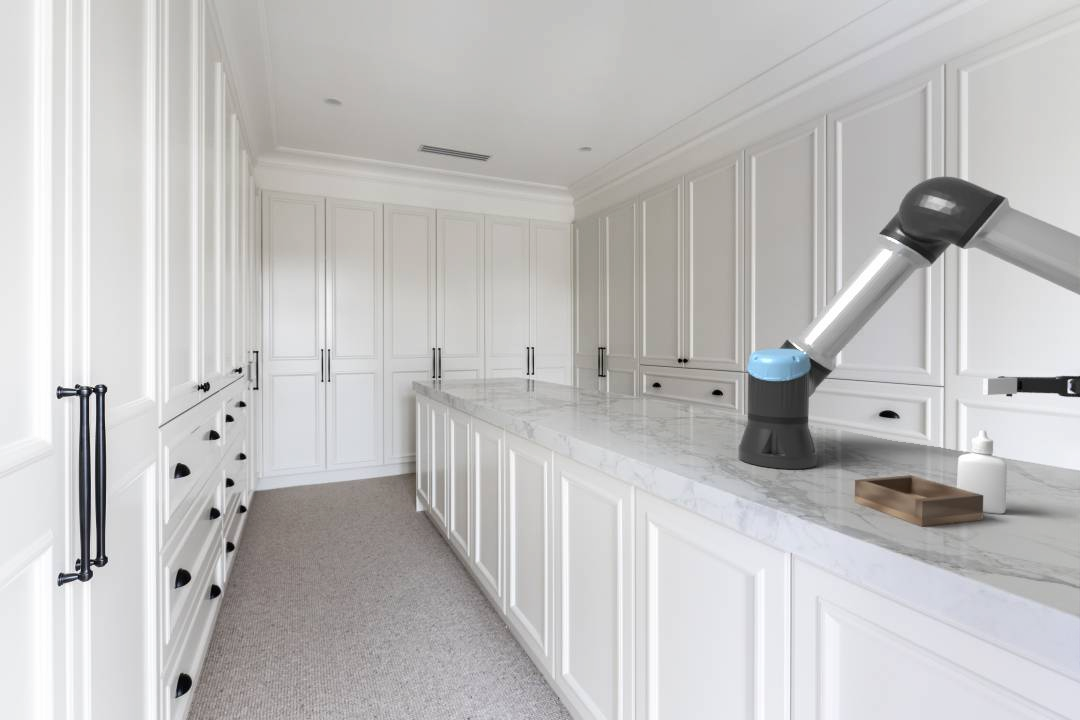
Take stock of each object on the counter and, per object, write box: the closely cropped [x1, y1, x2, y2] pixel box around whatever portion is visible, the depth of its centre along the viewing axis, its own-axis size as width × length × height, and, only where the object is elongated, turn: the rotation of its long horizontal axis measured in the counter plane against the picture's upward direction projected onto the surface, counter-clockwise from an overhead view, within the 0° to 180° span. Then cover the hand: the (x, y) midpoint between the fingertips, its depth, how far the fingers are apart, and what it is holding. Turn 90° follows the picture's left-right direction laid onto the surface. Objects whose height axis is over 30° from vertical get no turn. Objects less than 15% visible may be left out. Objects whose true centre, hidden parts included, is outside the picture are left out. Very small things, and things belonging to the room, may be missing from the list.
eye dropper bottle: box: [956, 429, 1008, 515], centre depth 77 cm, size 4×6×12 cm
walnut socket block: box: [854, 475, 984, 527], centre depth 77 cm, size 11×11×4 cm
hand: (1033, 390), depth 79 cm, fingers open, 13 cm apart
